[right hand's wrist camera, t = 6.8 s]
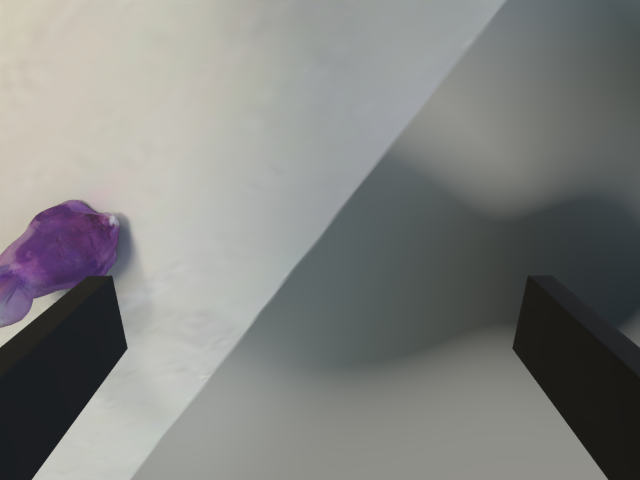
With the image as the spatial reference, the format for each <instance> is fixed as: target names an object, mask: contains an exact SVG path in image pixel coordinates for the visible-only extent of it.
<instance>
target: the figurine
mask: <svg viewBox="0 0 640 480" xmlns="http://www.w3.org/2000/svg"><path fill="white" fill-rule="evenodd" d="M118 237H119V222H118V219H117V218H116V217H115V215H113V214H112V213H97V212H95V211H93V210H92V209H90V208H89V207H87V206H86V205H85V204H84V203H82V202H81V201H78V200H69V201H66V202H63V203H61V204H59V205H57V206H54V207H52V208H49V209H47V210H45V211H43V212H41V213H39V214H37V215H36V216H35V217H34V219H33V220H32V221H31V223H30V224H29V226H28V228H27V230H26V231H25V232H24V234H23V235H22V236H21V237H19V238H18V239H17V240H16V241H15V242H13V243H12V244H11V245H10V246H9V247H8V248H7V249H6V250H5V251H4V252H3V253H2V254H1V255H0V328H1V327H5V326H9V325H12V324H14V323H16V322H19V321H21V320H22V319H23V318H24V317H25V316H26V315H27V314H28V312H29V311H30V309H31V306H32V302H33V299H34V298H38V297H42V296H45V295H48V294H50V293H53V292H55V291H58V290H63V289H69V288H74V287H75V286H76V285H77V284H78V283H80V282H81V281H82V280H83V279H85V278H86V277H87V276H104V275H105V274H106V273H107V272H108V270H109V269H110V268H111V267H112V265H113V264H114V263H115V262H116V259H117V252H116V247H117V244H118Z"/></svg>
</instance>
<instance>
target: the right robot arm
mask: <svg viewBox="0 0 640 480" xmlns="http://www.w3.org/2000/svg"><path fill="white" fill-rule="evenodd" d="M127 349H128V348H127V343H126V339H125V334H124V329H123V325H122V320H121V315H120V311H119V306H118V301H117V296H116V292H115V287H114V282H113V278H112V276H87V277H86V278H85V279H83V280H82V281H81V282H80V283H78V284H77V285H76V286H75V287H74V288H72V289H71V290H70V291H69V292H68V293H66V294H65V295H64V296H63V297H61V298H60V299H59V300H58V301H57V302H55V303H54V304H53V305H52V306H50V307H49V308H48V309H47V310H46V311H44V312H43V313H42V314H41V315H40V316H38V317H37V318H36V319H35V320H33V321H32V322H31V323H30V324H29V325H27V326H26V327H25V328H24V329H22V330H21V331H20V332H19V333H18V334H16V335H15V336H14V337H13V338H12V339H10V340H9V341H8V342H7V343H5V344H4V345H3V346H2V347H1V348H0V480H32V479H33V477H34V476H35V474H36V473H37V472H38V470H39V469H40V468H41V466H42V465H43V463H44V462H45V461H46V459H47V458H48V457H49V455H50V454H51V453H52V451H53V450H54V448H55V447H56V446H57V444H58V443H59V442H60V440H61V439H62V437H63V436H64V435H65V433H66V432H67V431H68V429H69V428H70V427H71V425H72V424H73V422H74V421H75V420H76V418H77V417H78V416H79V414H80V413H81V411H82V410H83V409H84V407H85V406H86V405H87V403H88V402H89V401H90V399H91V398H92V396H93V395H94V394H95V392H96V391H97V390H98V388H99V387H100V385H101V384H102V383H103V381H104V380H105V379H106V377H107V376H108V375H109V373H110V372H111V370H112V369H113V368H114V366H115V365H116V364H117V362H118V361H119V359H120V358H121V357H122V355H123V354H124V353H125V351H126V350H127ZM513 350H514V351H515V353H516V354H517V355H518V357H519V358H520V359H521V361H522V362H523V364H524V365H525V366H526V368H527V369H528V370H529V372H530V373H531V374H532V376H533V377H534V379H535V380H536V381H537V383H538V384H539V385H540V387H541V388H542V390H543V391H544V392H545V394H546V395H547V396H548V398H549V399H550V400H551V402H552V403H553V405H554V406H555V407H556V409H557V410H558V411H559V413H560V414H561V416H562V417H563V418H564V420H565V421H566V422H567V424H568V425H569V427H570V428H571V429H572V431H573V432H574V433H575V435H576V436H577V437H578V439H579V440H580V442H581V443H582V444H583V446H584V447H585V448H586V450H587V451H588V452H589V454H590V455H591V457H592V458H593V459H594V461H595V462H596V463H597V465H598V466H599V468H600V469H601V470H602V472H603V473H604V474H605V476H606V477H607V478H608V480H640V348H639V347H638V346H637V345H636V344H635V343H633V342H632V341H631V340H630V339H628V338H627V337H626V336H625V335H624V334H622V333H621V332H620V331H619V330H618V329H616V328H615V327H614V326H613V325H611V324H610V323H609V322H608V321H607V320H605V319H604V318H603V317H602V316H600V315H599V314H598V313H597V312H596V311H594V310H593V309H592V308H591V307H590V306H588V305H587V304H586V303H585V302H583V301H582V300H581V299H580V298H579V297H577V296H576V295H575V294H574V293H572V292H571V291H570V290H569V289H568V288H566V287H565V286H564V285H563V284H562V283H560V282H559V281H558V280H557V279H555V278H554V277H553V276H528V278H527V282H526V287H525V292H524V296H523V301H522V306H521V311H520V315H519V320H518V325H517V329H516V334H515V339H514V344H513Z"/></svg>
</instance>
